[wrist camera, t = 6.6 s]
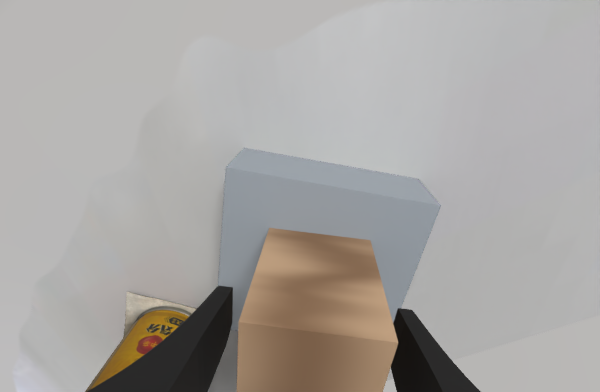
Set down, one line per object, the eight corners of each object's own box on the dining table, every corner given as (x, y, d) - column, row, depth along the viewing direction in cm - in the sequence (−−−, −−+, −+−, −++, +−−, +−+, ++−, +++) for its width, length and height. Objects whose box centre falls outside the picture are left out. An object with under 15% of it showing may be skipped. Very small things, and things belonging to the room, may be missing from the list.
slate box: (416, 176, 18) (441, 205, 14) (371, 306, 22) (382, 356, 18) (245, 145, 18) (226, 167, 14) (233, 282, 22) (215, 326, 18)
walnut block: (370, 240, 15) (397, 342, 9) (352, 316, 17) (367, 438, 11) (269, 227, 15) (238, 321, 10) (263, 305, 17) (235, 420, 12)
